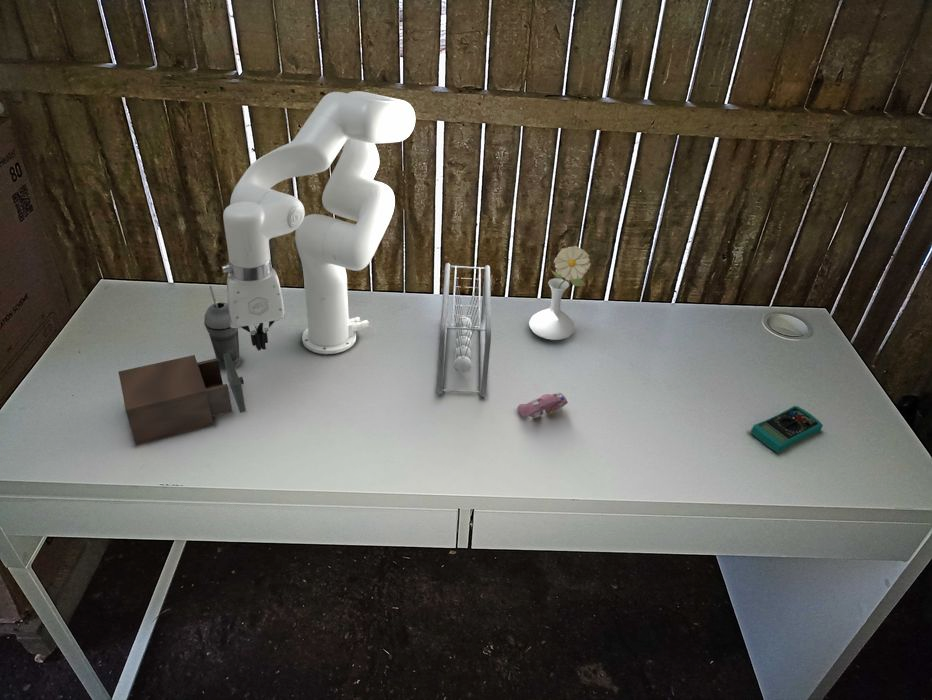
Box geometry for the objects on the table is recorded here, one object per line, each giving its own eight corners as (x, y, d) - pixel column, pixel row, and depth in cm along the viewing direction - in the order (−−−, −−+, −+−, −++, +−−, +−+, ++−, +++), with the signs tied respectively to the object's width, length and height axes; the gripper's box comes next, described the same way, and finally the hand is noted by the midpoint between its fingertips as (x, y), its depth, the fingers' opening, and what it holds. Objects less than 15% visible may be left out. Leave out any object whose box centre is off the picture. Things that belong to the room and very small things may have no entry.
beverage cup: (237, 375, 158) (224, 298, 146) (206, 370, 159) (190, 293, 147) (251, 356, 164) (240, 281, 152) (221, 351, 165) (208, 275, 153)
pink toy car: (523, 427, 152) (534, 414, 146) (514, 408, 154) (524, 394, 148) (561, 414, 156) (574, 401, 150) (552, 396, 158) (564, 382, 152)
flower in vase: (519, 330, 178) (530, 241, 164) (545, 313, 186) (558, 225, 171) (562, 353, 172) (578, 261, 157) (588, 333, 179) (605, 244, 164)
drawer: (239, 378, 156) (234, 351, 152) (251, 410, 148) (247, 382, 144) (167, 395, 150) (161, 367, 146) (176, 429, 142) (170, 401, 138)
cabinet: (201, 388, 154) (194, 354, 148) (213, 425, 145) (206, 390, 140) (128, 406, 148) (118, 371, 143) (136, 445, 139) (125, 409, 134)
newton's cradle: (442, 321, 180) (445, 259, 169) (484, 323, 180) (490, 261, 170) (436, 398, 156) (439, 331, 145) (485, 401, 156) (491, 334, 145)
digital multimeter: (821, 432, 154) (826, 422, 152) (776, 455, 147) (781, 445, 146) (793, 412, 159) (797, 402, 157) (748, 434, 152) (752, 423, 150)
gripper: (214, 283, 130) (226, 364, 141) (295, 269, 137) (301, 348, 147) (206, 264, 136) (218, 344, 146) (284, 252, 142) (291, 329, 152)
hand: (260, 346), depth 147 cm, fingers closed
